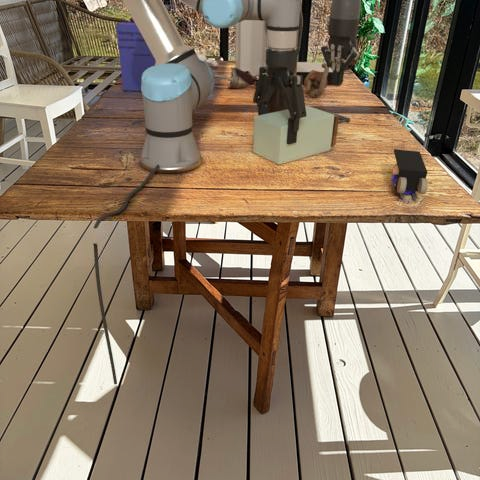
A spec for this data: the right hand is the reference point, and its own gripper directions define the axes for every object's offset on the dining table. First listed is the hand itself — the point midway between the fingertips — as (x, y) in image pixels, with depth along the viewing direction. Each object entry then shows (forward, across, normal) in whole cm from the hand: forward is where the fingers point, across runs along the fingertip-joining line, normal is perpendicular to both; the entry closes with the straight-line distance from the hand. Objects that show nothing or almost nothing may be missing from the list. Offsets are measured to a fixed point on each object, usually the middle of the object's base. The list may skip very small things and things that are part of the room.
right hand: (336, 85), depth 131 cm
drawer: (+15, 0, +9) cm, 17 cm away
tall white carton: (+16, +86, -38) cm, 95 cm away
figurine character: (+16, -34, +10) cm, 39 cm away
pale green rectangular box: (+16, 0, +15) cm, 22 cm away
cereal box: (+16, +83, +17) cm, 86 cm away
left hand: (+11, 0, +21) cm, 23 cm away
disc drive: (+16, +62, -51) cm, 82 cm away
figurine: (+16, +64, -18) cm, 68 cm away
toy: (+16, +111, -18) cm, 114 cm away
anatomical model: (+16, +42, -34) cm, 56 cm away
